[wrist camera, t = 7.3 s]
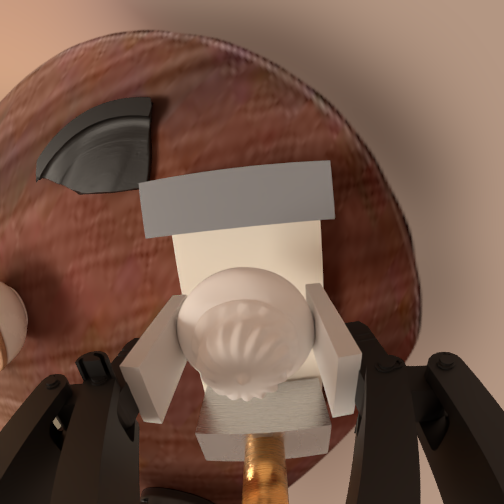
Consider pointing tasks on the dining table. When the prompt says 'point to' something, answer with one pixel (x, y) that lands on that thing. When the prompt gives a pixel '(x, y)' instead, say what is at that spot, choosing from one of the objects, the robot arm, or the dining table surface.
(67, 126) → the curved wedge
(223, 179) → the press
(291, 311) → the white steamed bun
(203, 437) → the ram
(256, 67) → the dining table surface
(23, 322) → the lidded jar
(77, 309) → the dining table surface
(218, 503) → the dining table surface
